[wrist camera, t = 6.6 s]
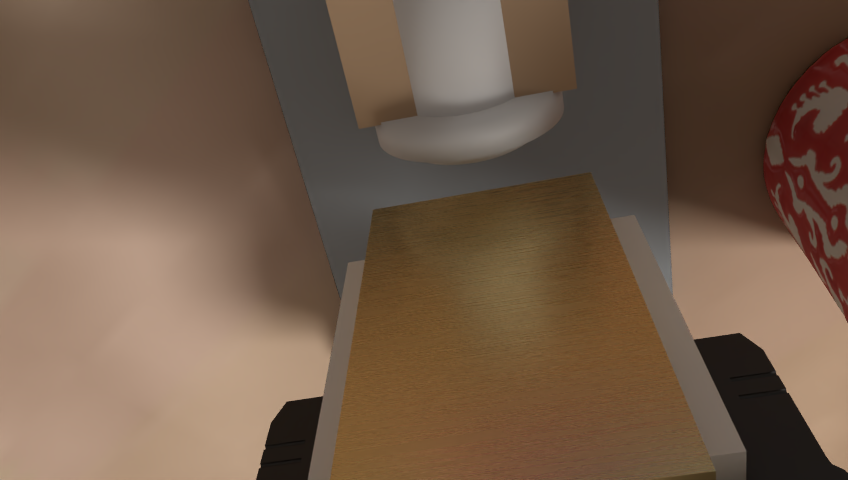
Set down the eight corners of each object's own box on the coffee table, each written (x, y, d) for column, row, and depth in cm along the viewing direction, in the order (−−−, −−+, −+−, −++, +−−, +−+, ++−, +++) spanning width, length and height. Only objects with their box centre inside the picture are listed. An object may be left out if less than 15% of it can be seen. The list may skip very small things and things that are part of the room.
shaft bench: (249, -33, 20) (166, 44, 14) (642, -117, 19) (742, -73, 13) (367, 359, 26) (346, 529, 20) (666, 314, 25) (739, 479, 19)
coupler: (372, 209, 16) (319, 543, 9) (590, 171, 16) (724, 492, 8) (420, 393, 18) (410, 773, 11) (610, 365, 18) (728, 744, 11)
